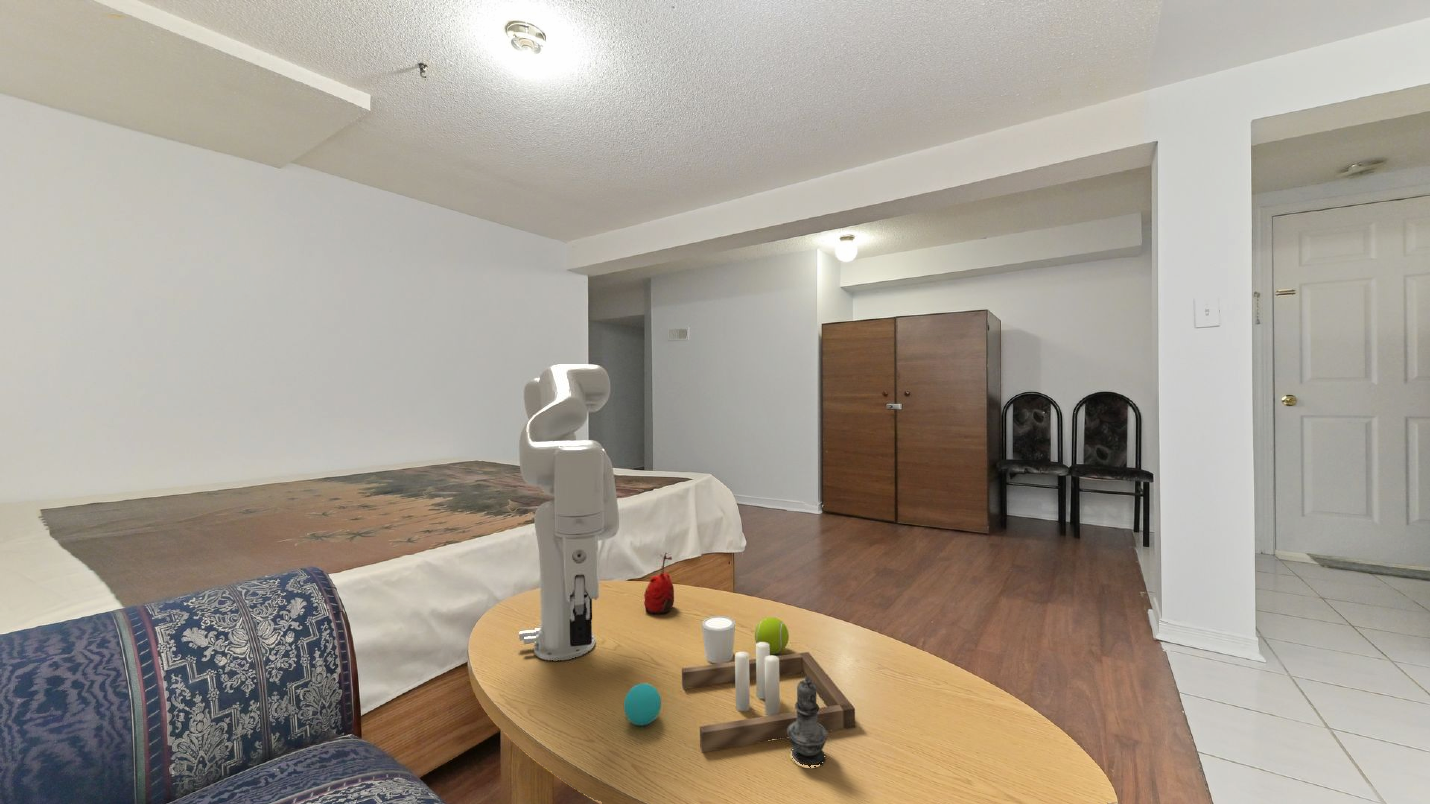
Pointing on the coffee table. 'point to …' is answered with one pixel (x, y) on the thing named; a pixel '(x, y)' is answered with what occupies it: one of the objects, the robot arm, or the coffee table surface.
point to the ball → (642, 704)
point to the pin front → (742, 681)
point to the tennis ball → (772, 634)
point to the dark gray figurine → (807, 727)
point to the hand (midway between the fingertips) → (581, 631)
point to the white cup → (718, 638)
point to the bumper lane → (772, 726)
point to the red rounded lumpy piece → (659, 592)
